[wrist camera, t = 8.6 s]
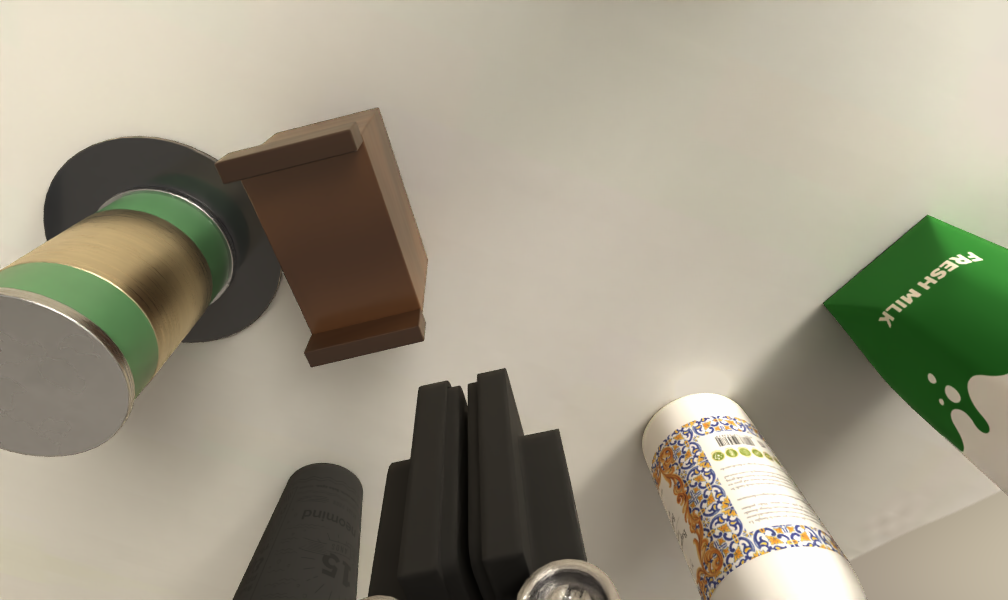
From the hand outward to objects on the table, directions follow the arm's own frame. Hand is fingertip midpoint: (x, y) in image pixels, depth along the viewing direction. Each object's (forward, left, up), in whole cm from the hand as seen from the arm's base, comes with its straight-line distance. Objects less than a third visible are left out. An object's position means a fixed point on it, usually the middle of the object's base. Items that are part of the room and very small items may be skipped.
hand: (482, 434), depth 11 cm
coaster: (0, -15, -19) cm, 25 cm away
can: (0, -15, -14) cm, 21 cm away
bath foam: (+20, +10, -20) cm, 30 cm away
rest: (0, -6, -19) cm, 20 cm away
